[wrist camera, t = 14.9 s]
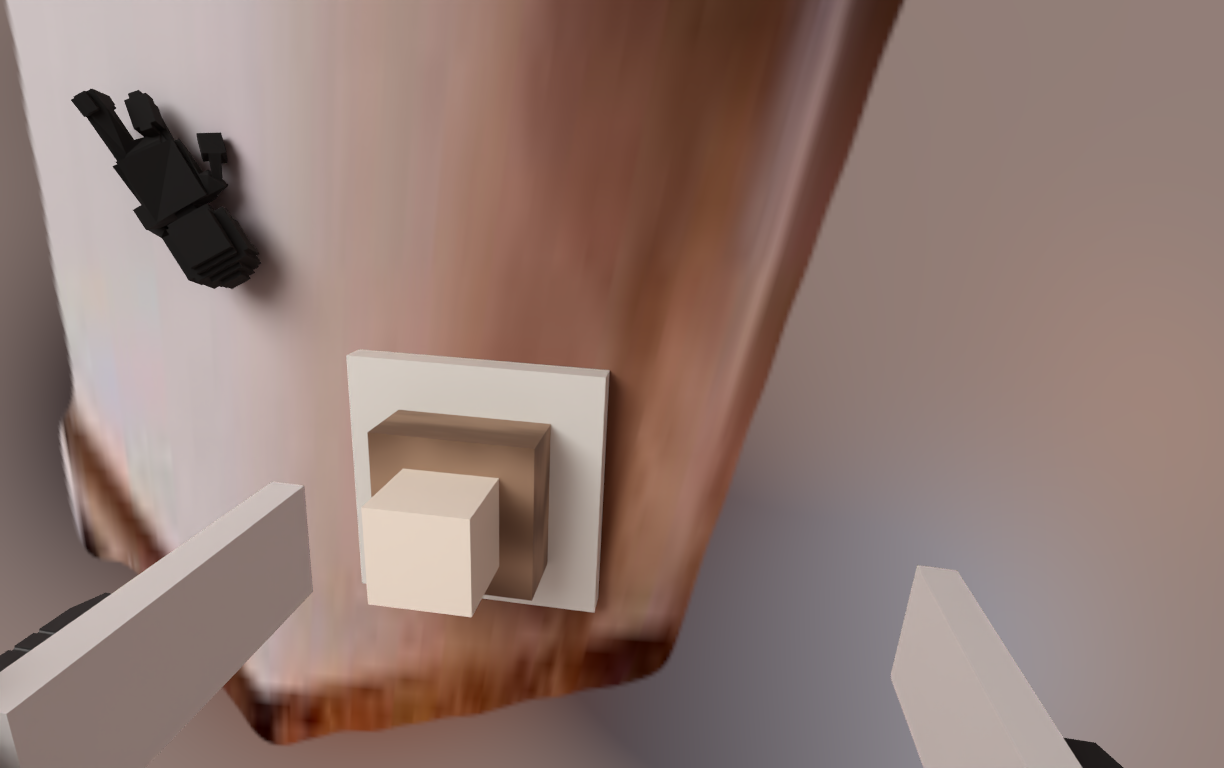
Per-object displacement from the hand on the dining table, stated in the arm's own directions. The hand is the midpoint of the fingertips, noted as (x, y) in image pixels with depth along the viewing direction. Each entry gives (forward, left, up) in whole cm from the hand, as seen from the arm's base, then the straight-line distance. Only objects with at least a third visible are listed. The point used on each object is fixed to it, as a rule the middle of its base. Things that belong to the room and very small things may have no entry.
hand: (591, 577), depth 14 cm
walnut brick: (+16, -14, -34) cm, 40 cm away
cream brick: (+15, -14, -29) cm, 36 cm away
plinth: (+16, -14, -36) cm, 41 cm away
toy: (-6, -37, -36) cm, 52 cm away
